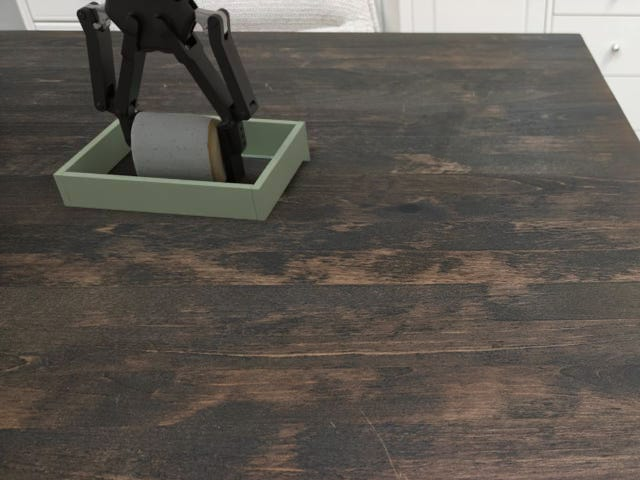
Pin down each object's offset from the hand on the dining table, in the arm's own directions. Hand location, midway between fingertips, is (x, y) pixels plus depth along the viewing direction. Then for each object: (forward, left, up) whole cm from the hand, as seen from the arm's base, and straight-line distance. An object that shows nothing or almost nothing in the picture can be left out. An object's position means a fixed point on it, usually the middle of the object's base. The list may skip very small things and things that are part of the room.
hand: (195, 176), depth 80 cm
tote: (0, 0, -1) cm, 1 cm away
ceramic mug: (0, 0, 0) cm, 1 cm away
